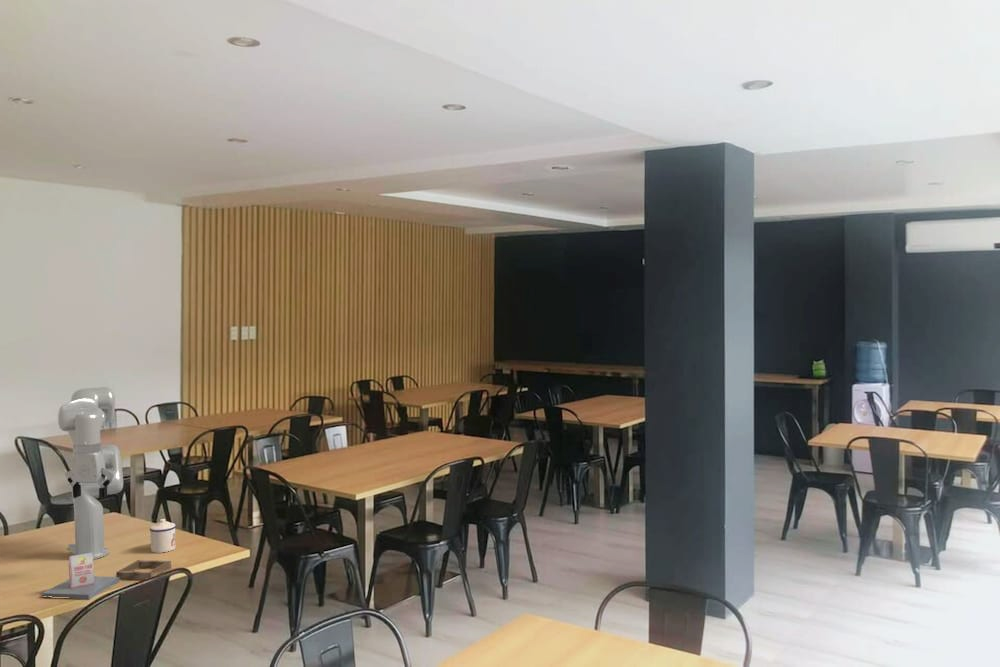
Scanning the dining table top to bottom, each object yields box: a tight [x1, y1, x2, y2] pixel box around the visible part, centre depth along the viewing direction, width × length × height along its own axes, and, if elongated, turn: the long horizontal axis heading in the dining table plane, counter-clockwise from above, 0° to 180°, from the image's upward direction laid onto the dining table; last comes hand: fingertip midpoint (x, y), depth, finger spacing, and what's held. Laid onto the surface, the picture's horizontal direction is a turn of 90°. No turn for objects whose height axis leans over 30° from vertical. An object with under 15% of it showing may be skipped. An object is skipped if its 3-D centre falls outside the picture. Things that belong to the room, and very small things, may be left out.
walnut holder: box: [115, 559, 172, 581], centre depth 271 cm, size 12×12×2 cm
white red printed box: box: [68, 553, 95, 589], centre depth 256 cm, size 4×7×10 cm, turn 124°
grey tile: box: [41, 575, 121, 600], centre depth 257 cm, size 16×16×2 cm
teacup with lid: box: [149, 518, 177, 554], centre depth 299 cm, size 12×9×12 cm
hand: (90, 497), depth 268 cm, fingers open, 9 cm apart
